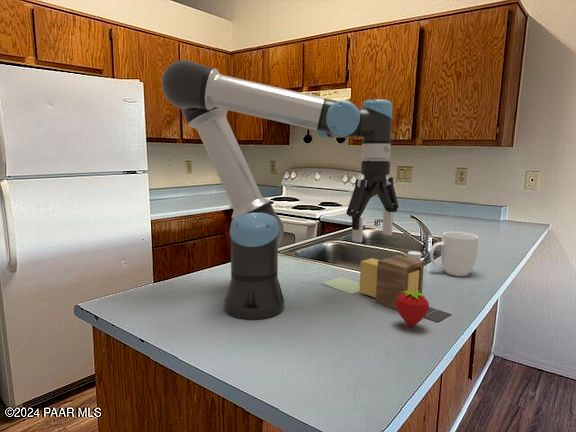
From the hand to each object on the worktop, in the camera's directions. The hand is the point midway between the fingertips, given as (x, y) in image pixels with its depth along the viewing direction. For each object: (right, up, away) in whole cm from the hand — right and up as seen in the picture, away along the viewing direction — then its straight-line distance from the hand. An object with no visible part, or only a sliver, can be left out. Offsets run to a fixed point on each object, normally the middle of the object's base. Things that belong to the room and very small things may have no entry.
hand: (372, 237), depth 110 cm
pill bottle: (+15, -15, +11) cm, 24 cm away
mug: (+32, -13, +22) cm, 41 cm away
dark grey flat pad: (+12, -18, -11) cm, 24 cm away
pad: (-6, -15, +9) cm, 18 cm away
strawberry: (+5, -20, -18) cm, 27 cm away
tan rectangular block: (+3, -16, -2) cm, 17 cm away
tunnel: (+6, -17, -4) cm, 19 cm away
